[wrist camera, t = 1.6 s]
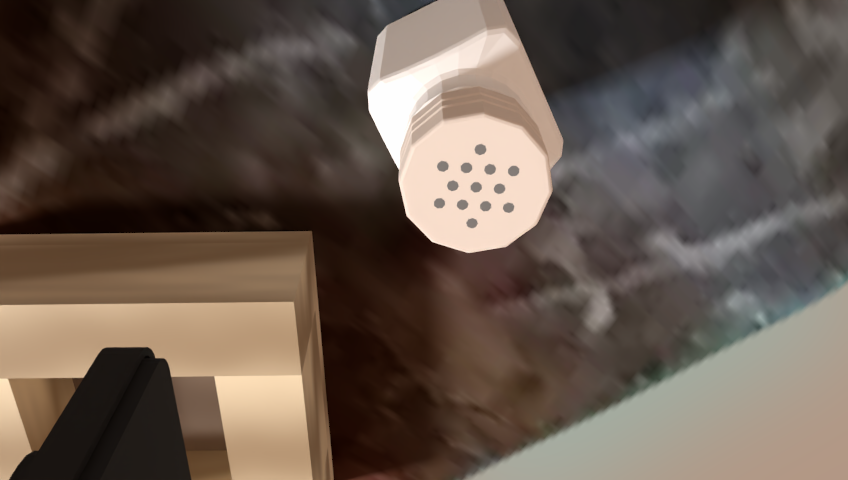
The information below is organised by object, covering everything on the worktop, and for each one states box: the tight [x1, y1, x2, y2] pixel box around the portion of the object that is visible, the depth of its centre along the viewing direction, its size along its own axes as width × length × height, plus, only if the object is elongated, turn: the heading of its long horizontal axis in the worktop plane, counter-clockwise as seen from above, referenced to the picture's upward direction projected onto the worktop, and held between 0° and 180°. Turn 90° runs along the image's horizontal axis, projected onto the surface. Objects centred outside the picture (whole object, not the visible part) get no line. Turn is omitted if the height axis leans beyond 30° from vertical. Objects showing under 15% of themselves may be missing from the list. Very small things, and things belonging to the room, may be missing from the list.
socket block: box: [0, 231, 334, 480], centre depth 29 cm, size 12×12×4 cm
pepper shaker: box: [368, 0, 563, 253], centre depth 21 cm, size 4×4×10 cm
